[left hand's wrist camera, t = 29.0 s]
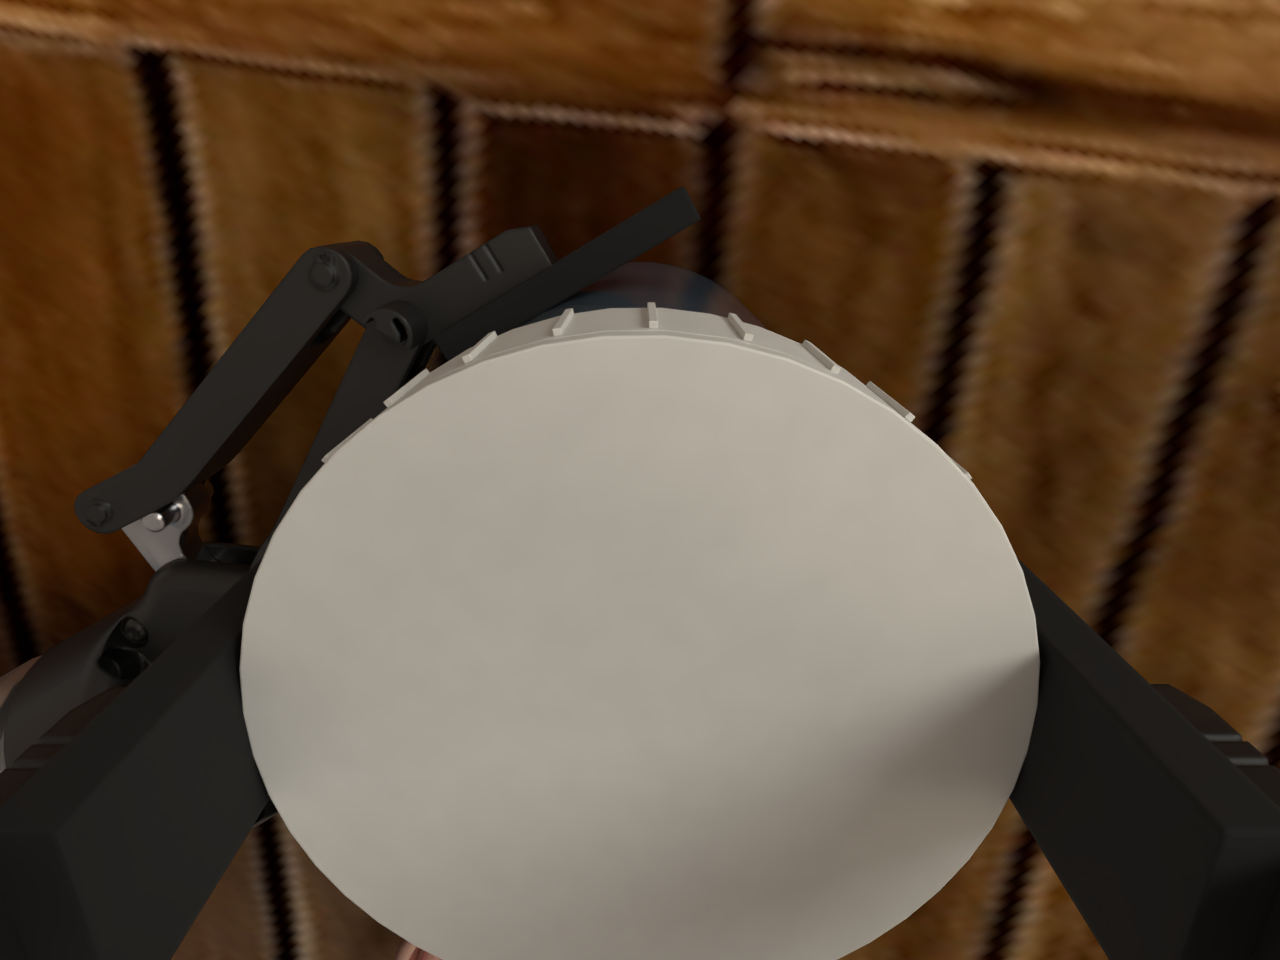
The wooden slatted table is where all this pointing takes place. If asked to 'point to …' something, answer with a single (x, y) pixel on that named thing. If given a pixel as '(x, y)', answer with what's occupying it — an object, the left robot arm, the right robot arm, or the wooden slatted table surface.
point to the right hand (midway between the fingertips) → (788, 397)
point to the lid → (639, 651)
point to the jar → (653, 293)
